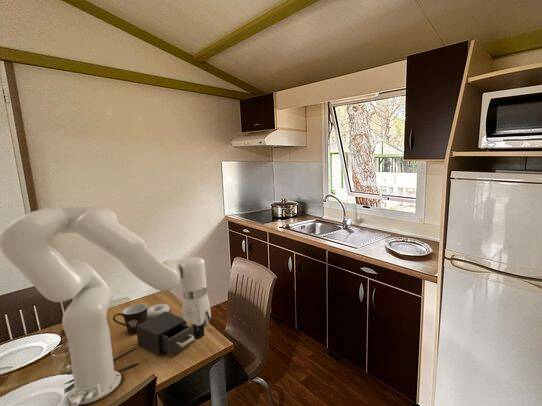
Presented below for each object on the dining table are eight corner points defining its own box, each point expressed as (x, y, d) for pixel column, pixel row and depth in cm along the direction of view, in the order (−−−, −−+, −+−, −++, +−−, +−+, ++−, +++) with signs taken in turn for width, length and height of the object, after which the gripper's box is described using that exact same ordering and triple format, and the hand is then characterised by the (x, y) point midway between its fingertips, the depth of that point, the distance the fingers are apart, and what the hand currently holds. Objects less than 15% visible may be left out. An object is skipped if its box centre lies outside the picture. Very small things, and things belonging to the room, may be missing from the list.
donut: (174, 312, 133) (163, 306, 138) (173, 306, 132) (162, 300, 137) (151, 322, 124) (140, 315, 130) (150, 315, 124) (140, 309, 129)
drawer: (202, 344, 109) (201, 328, 108) (177, 360, 100) (176, 343, 99) (175, 332, 116) (174, 317, 115) (149, 347, 107) (148, 331, 106)
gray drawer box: (187, 338, 114) (186, 319, 113) (159, 355, 104) (157, 335, 102) (167, 329, 120) (165, 311, 118) (138, 345, 109) (136, 325, 108)
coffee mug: (154, 325, 123) (152, 304, 121) (138, 337, 114) (135, 315, 113) (130, 323, 124) (128, 302, 122) (112, 334, 115) (110, 312, 114)
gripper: (171, 291, 99) (176, 337, 102) (200, 300, 93) (204, 349, 96) (191, 283, 106) (195, 326, 108) (218, 291, 99) (222, 336, 102)
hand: (199, 337), depth 102 cm, fingers closed
